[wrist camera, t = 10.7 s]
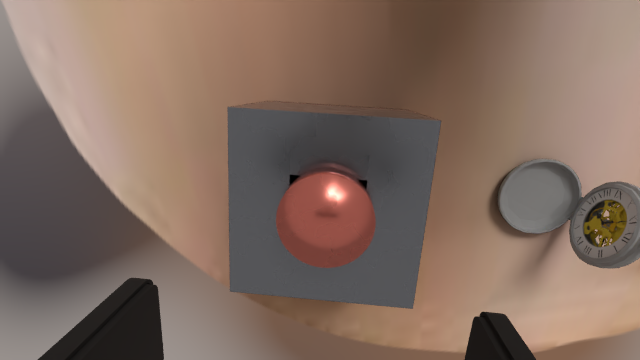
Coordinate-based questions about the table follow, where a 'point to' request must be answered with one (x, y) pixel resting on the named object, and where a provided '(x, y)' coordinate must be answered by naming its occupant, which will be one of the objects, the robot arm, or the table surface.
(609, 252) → the pocket watch
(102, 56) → the table surface
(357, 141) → the block
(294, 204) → the lynch pin
